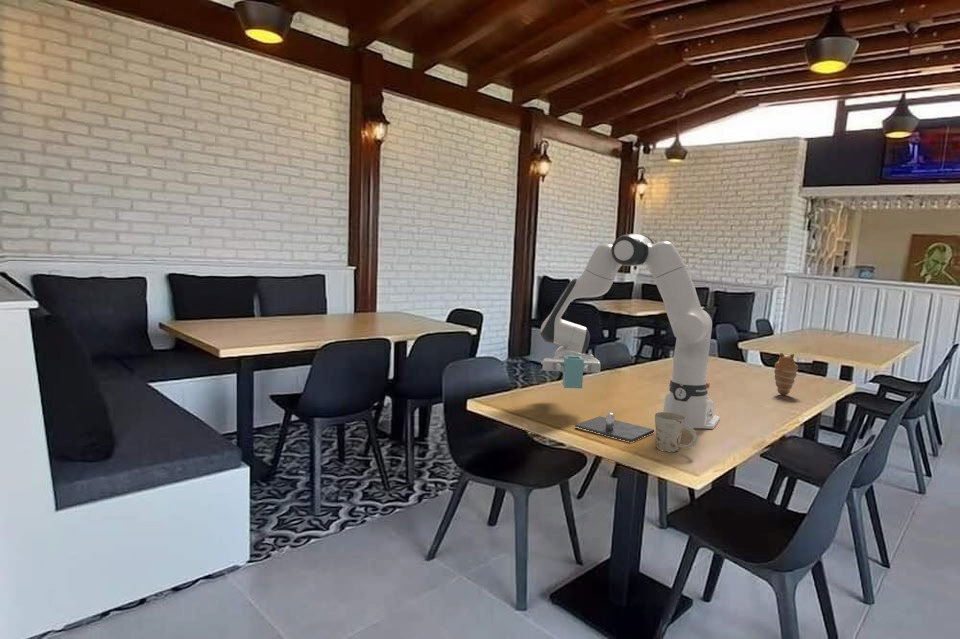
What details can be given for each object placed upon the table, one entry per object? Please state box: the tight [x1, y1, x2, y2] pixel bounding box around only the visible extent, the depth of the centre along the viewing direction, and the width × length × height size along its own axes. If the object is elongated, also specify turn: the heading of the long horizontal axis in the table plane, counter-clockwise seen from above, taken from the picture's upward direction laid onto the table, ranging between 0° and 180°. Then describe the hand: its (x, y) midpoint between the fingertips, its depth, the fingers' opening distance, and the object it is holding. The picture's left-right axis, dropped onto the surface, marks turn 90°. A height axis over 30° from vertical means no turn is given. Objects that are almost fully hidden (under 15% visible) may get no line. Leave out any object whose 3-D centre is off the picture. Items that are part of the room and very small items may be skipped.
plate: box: [574, 412, 655, 443], centre depth 187 cm, size 15×20×6 cm
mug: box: [654, 411, 698, 453], centre depth 169 cm, size 8×13×10 cm, turn 51°
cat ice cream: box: [774, 352, 799, 396], centre depth 245 cm, size 9×8×18 cm
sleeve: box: [562, 356, 584, 390], centre depth 200 cm, size 6×6×10 cm
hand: (573, 369), depth 199 cm, fingers closed on sleeve, 6 cm apart
